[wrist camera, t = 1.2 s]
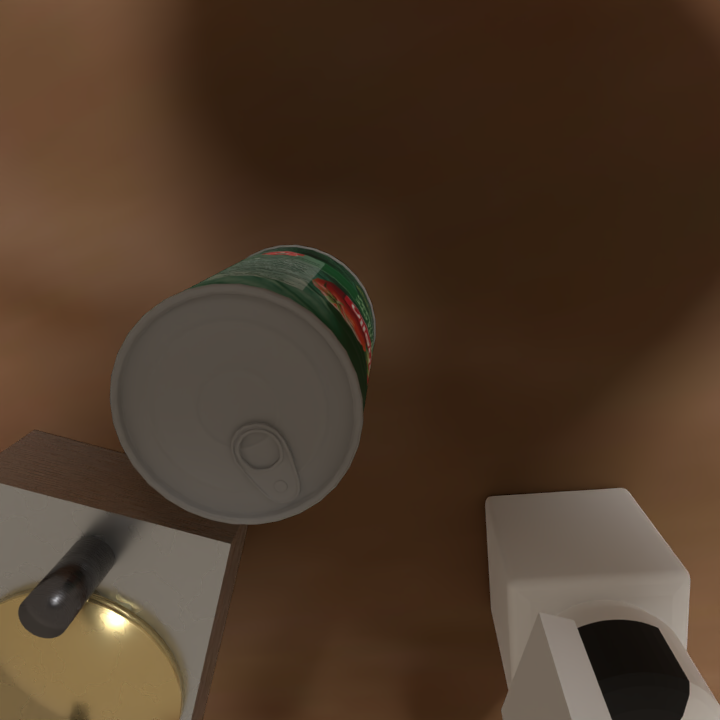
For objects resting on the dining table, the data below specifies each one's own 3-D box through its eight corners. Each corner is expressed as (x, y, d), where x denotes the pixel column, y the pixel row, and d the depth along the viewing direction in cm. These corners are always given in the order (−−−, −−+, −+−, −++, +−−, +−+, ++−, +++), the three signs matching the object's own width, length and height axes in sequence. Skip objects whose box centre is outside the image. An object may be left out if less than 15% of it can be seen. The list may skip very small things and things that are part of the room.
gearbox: (23, 426, 31) (-121, 520, 23) (256, 488, 31) (202, 605, 23) (-5, 713, 37) (-128, 874, 28) (192, 764, 37) (129, 940, 29)
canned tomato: (183, 290, 29) (57, 353, 18) (328, 214, 27) (283, 235, 17) (264, 428, 30) (192, 560, 20) (404, 364, 29) (406, 469, 18)
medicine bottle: (490, 610, 33) (539, 843, 21) (483, 493, 31) (534, 681, 19) (625, 603, 32) (751, 840, 20) (627, 484, 30) (768, 672, 18)
